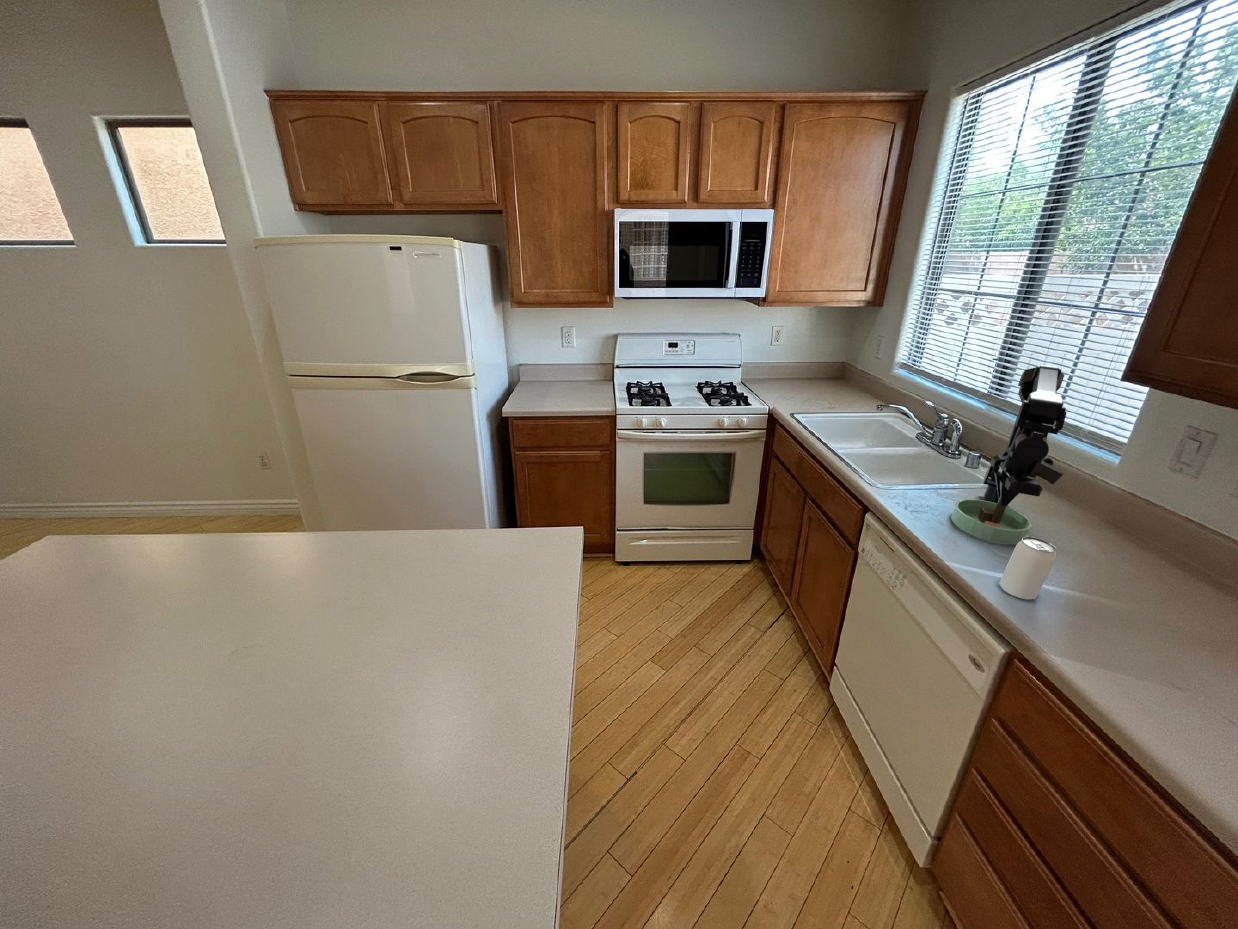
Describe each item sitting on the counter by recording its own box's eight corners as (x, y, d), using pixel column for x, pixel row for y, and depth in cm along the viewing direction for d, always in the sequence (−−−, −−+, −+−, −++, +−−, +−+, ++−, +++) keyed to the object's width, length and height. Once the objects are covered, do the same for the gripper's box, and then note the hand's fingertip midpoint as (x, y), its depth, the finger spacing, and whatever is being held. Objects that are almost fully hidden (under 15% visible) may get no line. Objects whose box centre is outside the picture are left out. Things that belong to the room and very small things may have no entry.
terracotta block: (981, 530, 123) (985, 520, 122) (995, 533, 122) (999, 523, 121) (982, 536, 121) (986, 526, 120) (997, 539, 120) (1001, 529, 118)
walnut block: (978, 516, 130) (981, 507, 128) (991, 519, 129) (995, 509, 127) (980, 522, 127) (984, 512, 126) (993, 524, 126) (998, 515, 125)
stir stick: (988, 521, 126) (1005, 480, 121) (997, 522, 126) (1014, 482, 121) (990, 524, 125) (1007, 484, 120) (999, 526, 124) (1016, 485, 119)
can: (1022, 582, 105) (1044, 536, 100) (1043, 602, 99) (1068, 554, 94) (991, 580, 105) (1012, 534, 100) (1010, 599, 99) (1033, 552, 94)
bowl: (946, 508, 135) (951, 494, 133) (1014, 521, 129) (1021, 507, 127) (956, 535, 122) (962, 520, 120) (1033, 552, 116) (1041, 537, 114)
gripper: (1082, 469, 105) (1053, 528, 112) (1052, 441, 121) (1029, 495, 128) (1021, 459, 109) (997, 517, 116) (1000, 434, 125) (980, 486, 132)
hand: (1002, 503), depth 123 cm, fingers closed on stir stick, 2 cm apart
